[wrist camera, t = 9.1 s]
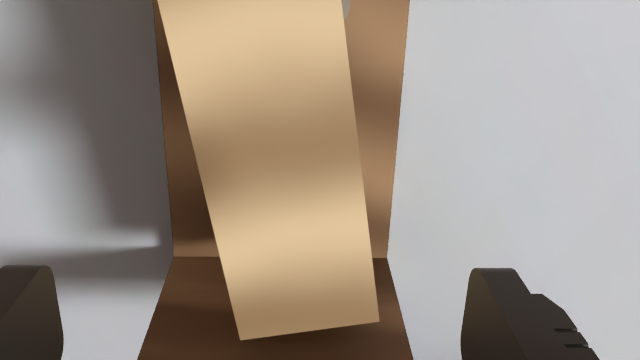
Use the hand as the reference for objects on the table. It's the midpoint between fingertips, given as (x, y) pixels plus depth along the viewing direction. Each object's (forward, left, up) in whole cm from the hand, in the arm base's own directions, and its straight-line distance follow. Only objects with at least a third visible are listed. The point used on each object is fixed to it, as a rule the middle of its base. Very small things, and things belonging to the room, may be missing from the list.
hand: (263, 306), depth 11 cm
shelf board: (0, 0, -12) cm, 12 cm away
